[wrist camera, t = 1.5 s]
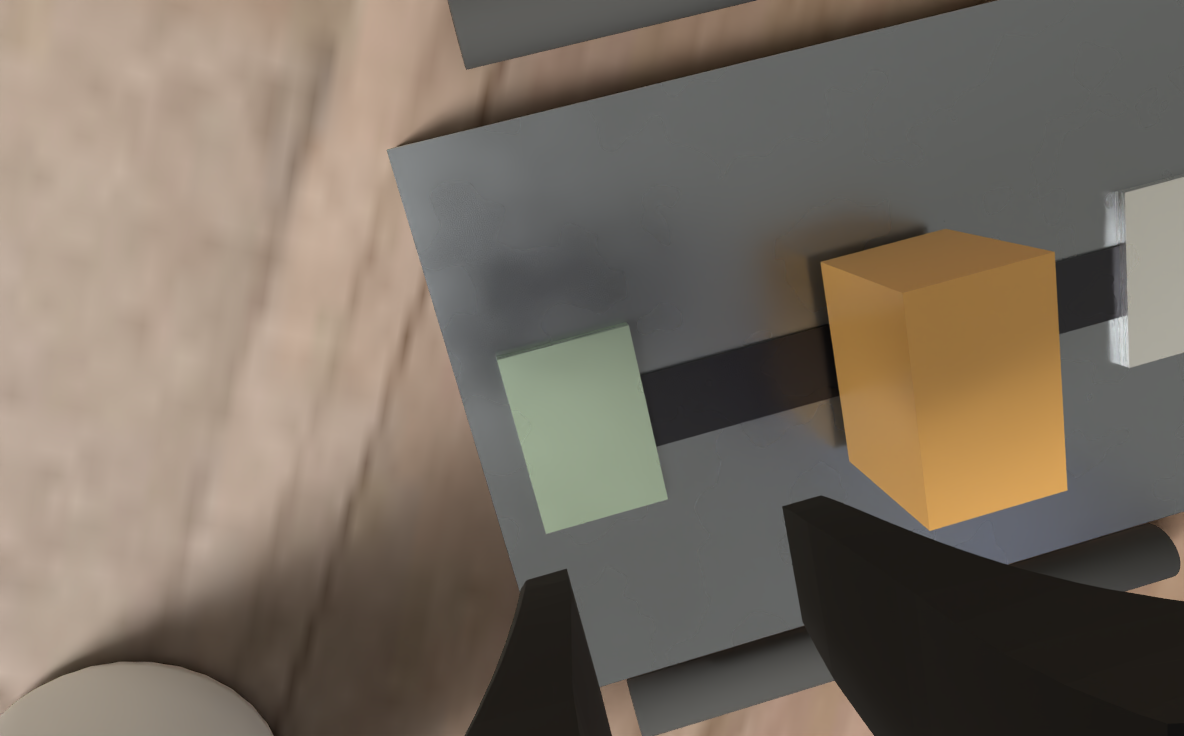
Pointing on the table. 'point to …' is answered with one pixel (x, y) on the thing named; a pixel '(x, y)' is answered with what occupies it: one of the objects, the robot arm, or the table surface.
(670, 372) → the grey flat slab
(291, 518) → the table surface
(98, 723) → the milk bottle
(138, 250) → the table surface
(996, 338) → the lever
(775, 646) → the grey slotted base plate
